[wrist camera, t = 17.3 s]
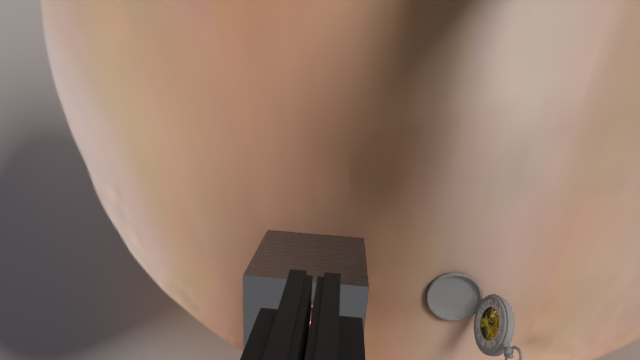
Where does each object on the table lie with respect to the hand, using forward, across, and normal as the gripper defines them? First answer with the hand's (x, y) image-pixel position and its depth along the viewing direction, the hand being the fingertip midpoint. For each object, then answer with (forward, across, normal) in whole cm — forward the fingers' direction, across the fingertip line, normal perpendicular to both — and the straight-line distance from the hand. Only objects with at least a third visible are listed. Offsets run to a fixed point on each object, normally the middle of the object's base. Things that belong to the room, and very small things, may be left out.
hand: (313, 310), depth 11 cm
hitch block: (+29, +2, +17) cm, 34 cm away
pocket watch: (+29, -17, +18) cm, 38 cm away
